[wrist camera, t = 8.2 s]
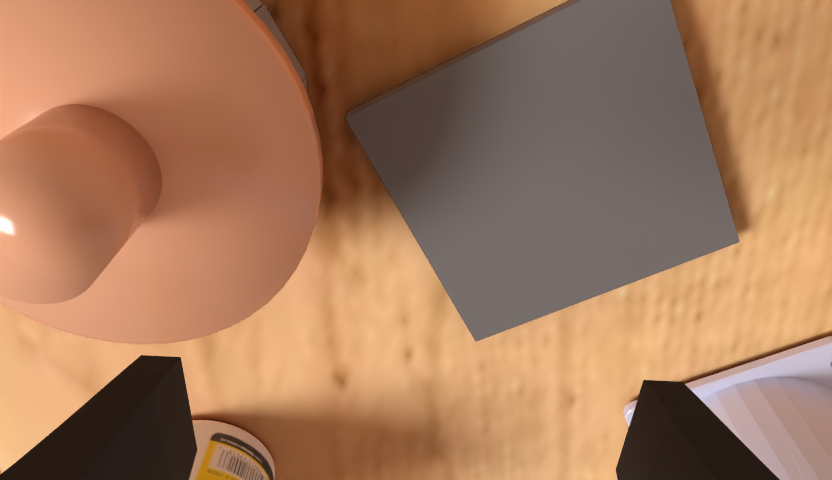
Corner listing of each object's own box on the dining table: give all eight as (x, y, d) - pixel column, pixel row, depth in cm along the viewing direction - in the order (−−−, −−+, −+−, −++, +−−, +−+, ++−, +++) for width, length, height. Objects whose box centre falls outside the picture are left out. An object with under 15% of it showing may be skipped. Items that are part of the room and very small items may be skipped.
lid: (399, 232, 15) (393, 328, 12) (98, 373, 18) (25, 484, 15) (126, -198, 11) (1, -229, 8) (-222, 68, 14) (-427, 129, 10)
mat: (731, 232, 20) (739, 241, 19) (474, 330, 22) (475, 341, 22) (651, -42, 16) (659, -39, 15) (347, 111, 18) (345, 118, 18)
